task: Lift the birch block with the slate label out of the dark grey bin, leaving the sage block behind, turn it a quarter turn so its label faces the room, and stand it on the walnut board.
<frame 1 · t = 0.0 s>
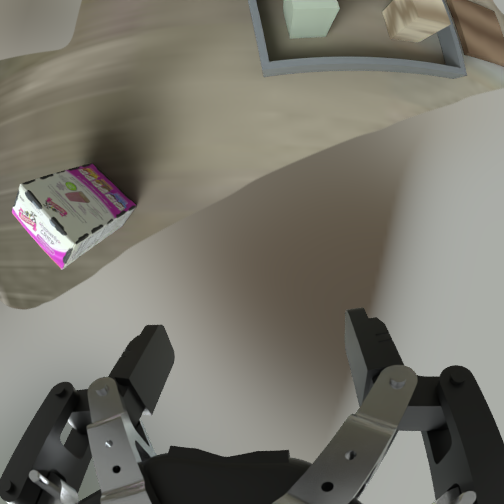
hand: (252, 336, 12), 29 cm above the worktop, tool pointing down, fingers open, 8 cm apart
birch block: (400, 27, 27), resting in grey bin
candy bar box: (107, 194, 41), on the worktop
grey bin: (358, 23, 28), on the worktop
sage block: (304, 23, 29), resting in grey bin
walnut board: (478, 31, 23), on the worktop
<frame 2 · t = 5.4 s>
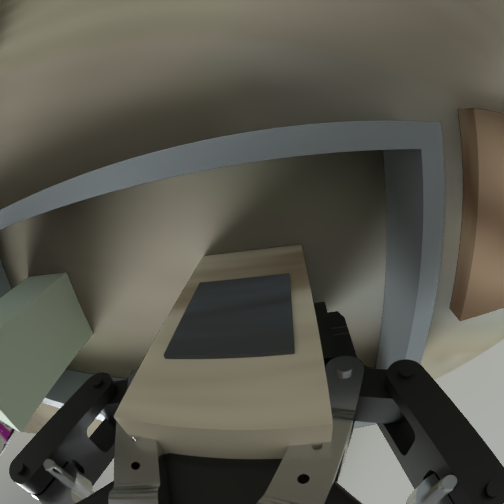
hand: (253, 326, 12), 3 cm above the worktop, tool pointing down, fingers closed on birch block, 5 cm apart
birch block: (258, 293, 15), resting in grey bin, touching gripper
candy bar box: (2, 398, 29), on the worktop
grey bin: (142, 302, 16), on the worktop
sage block: (58, 304, 17), resting in grey bin
when the fingers open (6 cm above the worktop, at t = 14.9 s): birch block drops 1 cm, resting on walnut board.
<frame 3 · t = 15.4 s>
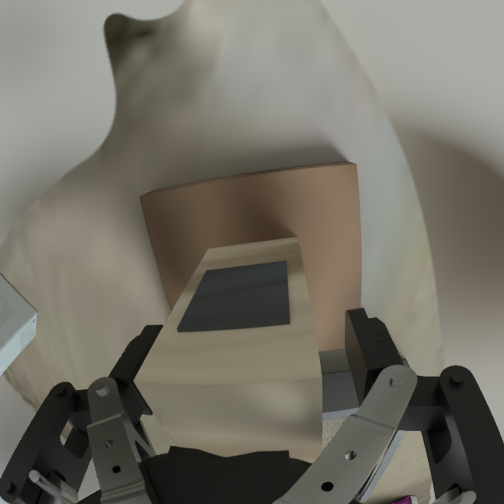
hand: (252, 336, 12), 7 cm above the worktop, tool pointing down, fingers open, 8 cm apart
birch block: (259, 282, 17), point 1 cm above the worktop, touching walnut board
candy bar box: (393, 503, 39), on the worktop
grey bin: (315, 453, 26), on the worktop
walnut board: (260, 269, 18), on the worktop
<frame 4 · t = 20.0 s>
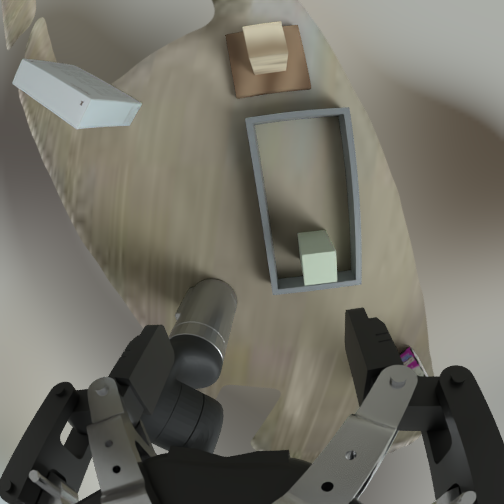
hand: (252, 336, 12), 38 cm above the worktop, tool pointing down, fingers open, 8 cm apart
birch block: (267, 59, 37), point 1 cm above the worktop, touching walnut board
candy bar box: (396, 362, 60), on the worktop
grey bin: (308, 201, 47), on the worktop
sage block: (312, 244, 50), resting in grey bin
walnut board: (267, 61, 39), on the worktop
skincare box 2: (99, 93, 42), on the worktop
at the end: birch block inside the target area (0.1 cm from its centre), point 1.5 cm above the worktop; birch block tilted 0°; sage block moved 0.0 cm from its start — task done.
